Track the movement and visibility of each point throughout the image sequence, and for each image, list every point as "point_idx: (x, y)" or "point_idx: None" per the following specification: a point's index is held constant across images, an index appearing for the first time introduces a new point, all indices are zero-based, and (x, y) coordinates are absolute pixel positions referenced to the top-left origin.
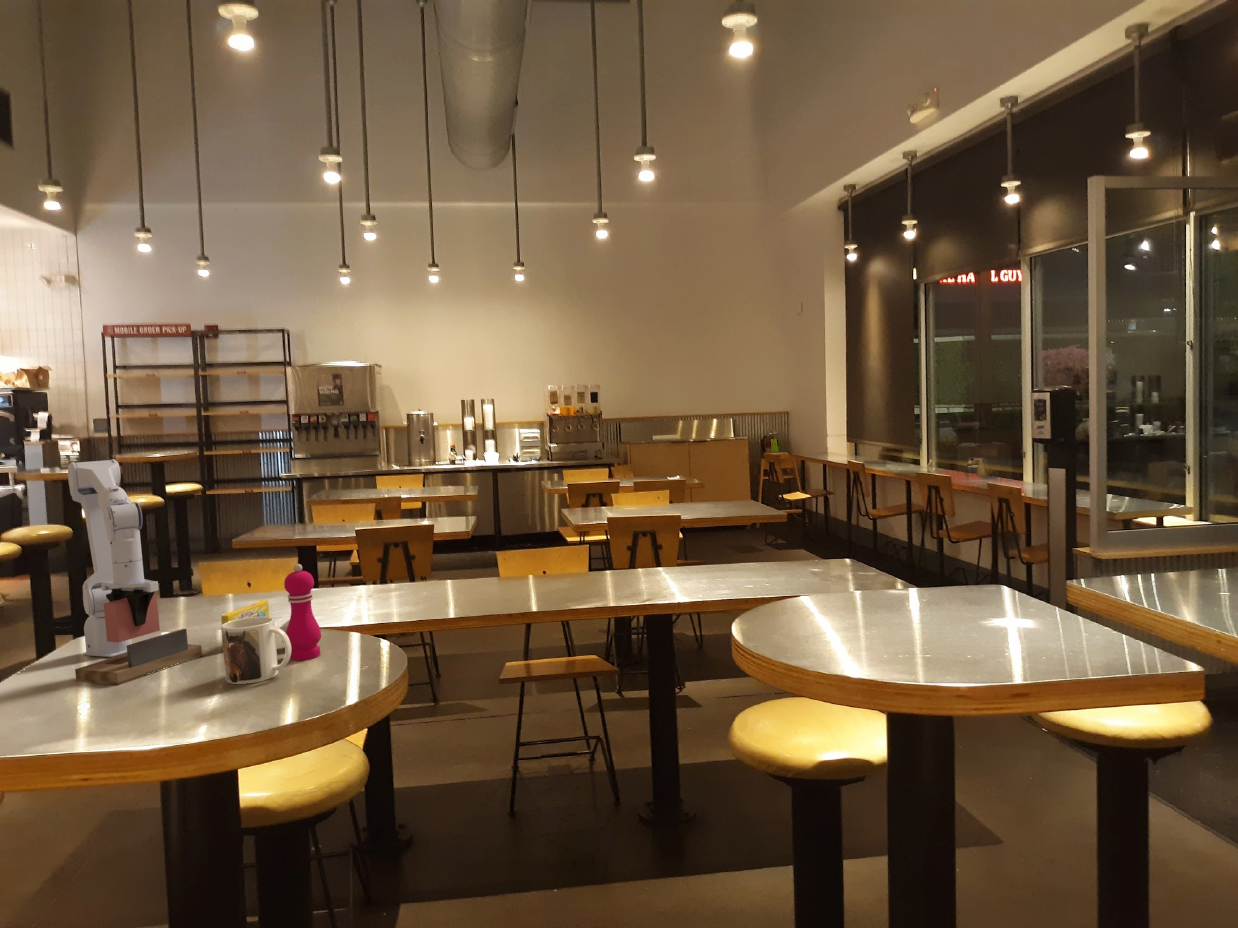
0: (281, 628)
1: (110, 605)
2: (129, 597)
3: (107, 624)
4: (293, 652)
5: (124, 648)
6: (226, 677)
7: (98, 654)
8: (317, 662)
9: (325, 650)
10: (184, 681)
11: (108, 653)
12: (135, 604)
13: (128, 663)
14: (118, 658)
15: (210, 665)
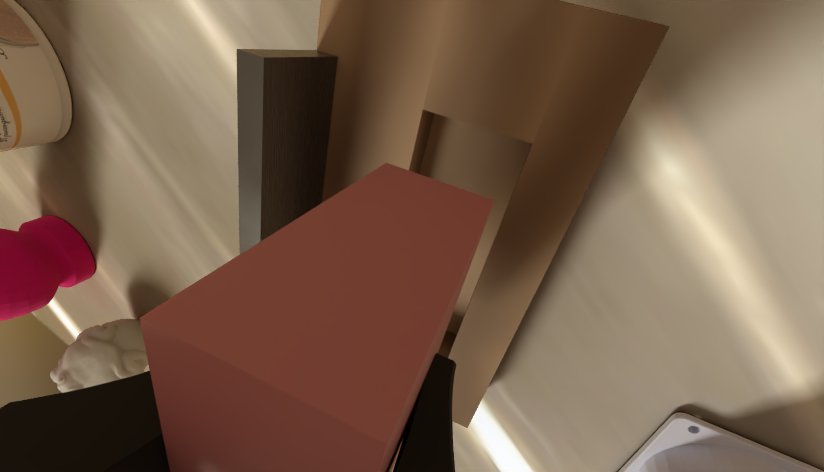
0: (94, 351)
1: (254, 346)
2: (43, 441)
3: (441, 246)
4: (38, 226)
5: (650, 468)
6: (3, 4)
7: (768, 453)
8: (9, 191)
9: (74, 287)
10: (145, 22)
11: (712, 446)
12: (129, 377)
13: (326, 56)
14: (508, 234)
15: (215, 213)
